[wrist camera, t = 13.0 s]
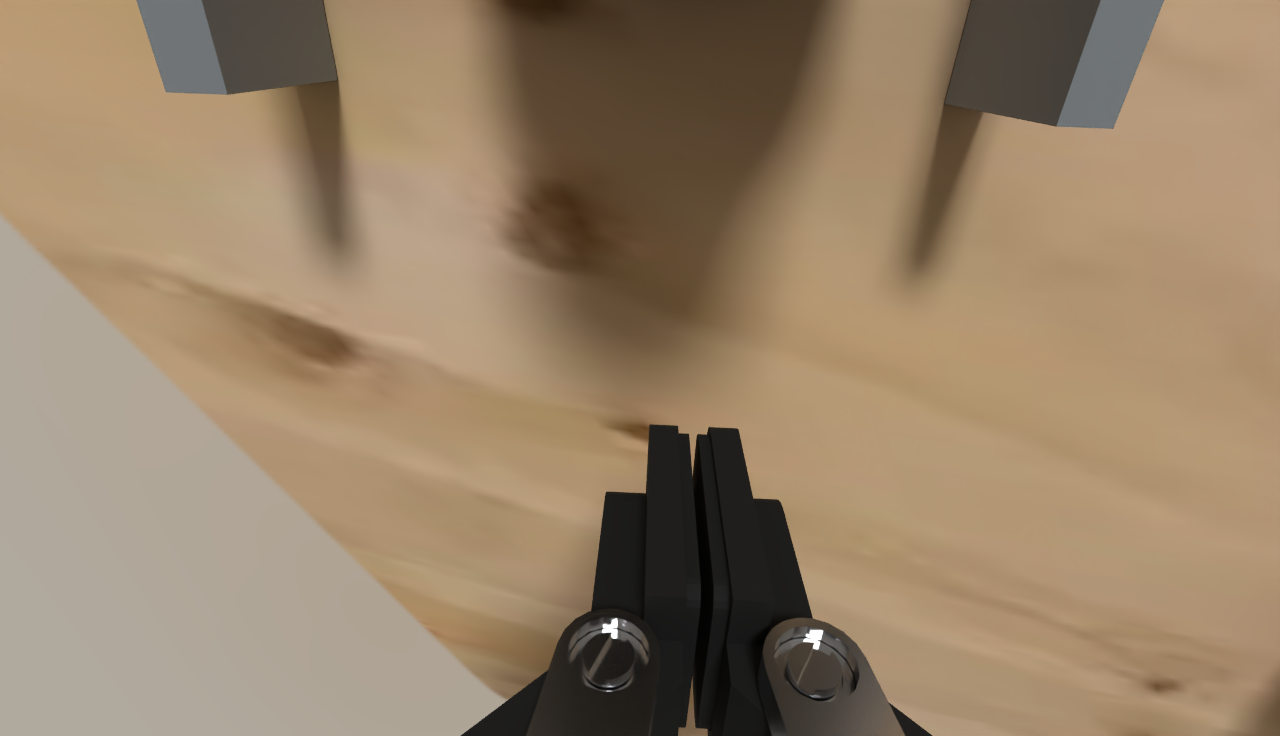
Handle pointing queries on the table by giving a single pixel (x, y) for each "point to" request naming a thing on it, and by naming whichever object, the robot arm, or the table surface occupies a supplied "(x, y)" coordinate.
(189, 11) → the bin
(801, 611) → the robot arm
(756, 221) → the table surface
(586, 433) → the table surface
